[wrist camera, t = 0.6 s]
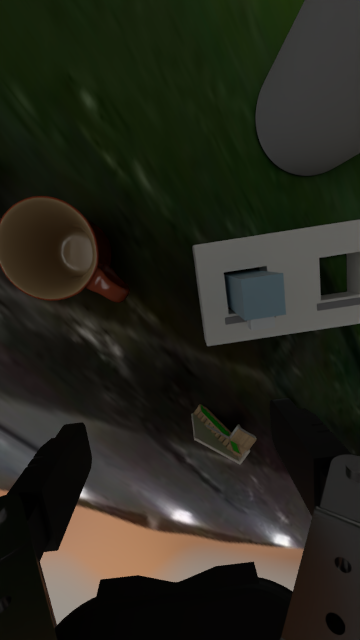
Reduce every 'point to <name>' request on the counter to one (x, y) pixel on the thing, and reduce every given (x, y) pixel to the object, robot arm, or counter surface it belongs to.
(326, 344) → the counter surface
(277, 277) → the plug
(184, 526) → the counter surface
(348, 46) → the cylinder vase
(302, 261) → the port panel
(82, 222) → the mug
